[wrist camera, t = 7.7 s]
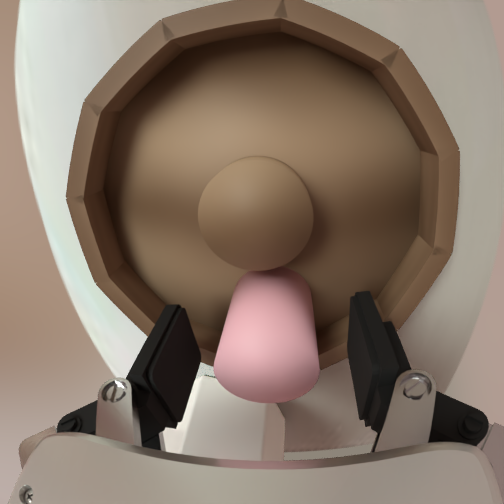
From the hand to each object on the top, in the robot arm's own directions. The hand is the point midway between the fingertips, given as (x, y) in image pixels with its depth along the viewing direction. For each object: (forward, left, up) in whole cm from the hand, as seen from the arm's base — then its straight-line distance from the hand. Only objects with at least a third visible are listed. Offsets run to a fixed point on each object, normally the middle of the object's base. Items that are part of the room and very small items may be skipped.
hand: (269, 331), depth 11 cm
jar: (+11, -4, -4) cm, 13 cm away
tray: (-4, 0, -3) cm, 6 cm away
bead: (0, 0, -2) cm, 2 cm away
